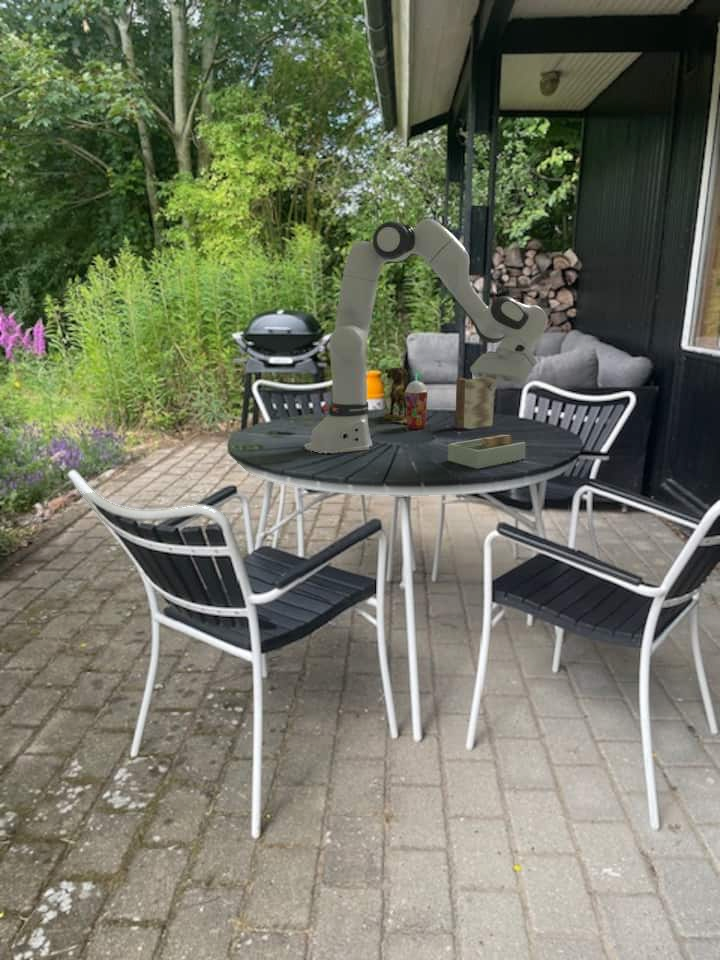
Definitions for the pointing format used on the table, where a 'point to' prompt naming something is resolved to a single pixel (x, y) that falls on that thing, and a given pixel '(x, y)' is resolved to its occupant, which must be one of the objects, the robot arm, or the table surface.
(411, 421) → the smoothie
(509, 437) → the offcut stack
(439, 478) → the table surface
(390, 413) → the figurine
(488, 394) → the beige brown rectangular slab
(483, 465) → the rack
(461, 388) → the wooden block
